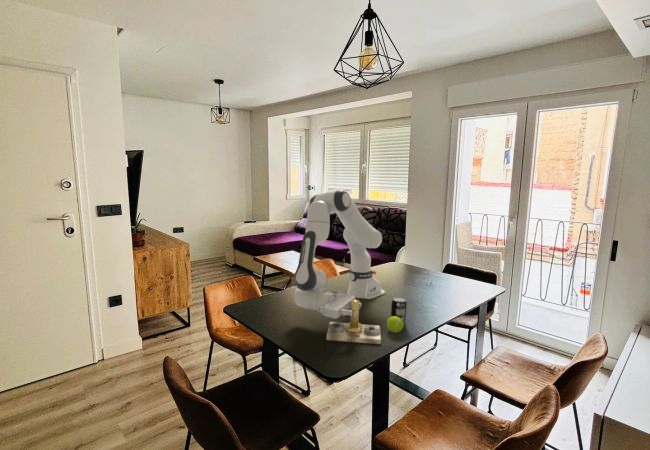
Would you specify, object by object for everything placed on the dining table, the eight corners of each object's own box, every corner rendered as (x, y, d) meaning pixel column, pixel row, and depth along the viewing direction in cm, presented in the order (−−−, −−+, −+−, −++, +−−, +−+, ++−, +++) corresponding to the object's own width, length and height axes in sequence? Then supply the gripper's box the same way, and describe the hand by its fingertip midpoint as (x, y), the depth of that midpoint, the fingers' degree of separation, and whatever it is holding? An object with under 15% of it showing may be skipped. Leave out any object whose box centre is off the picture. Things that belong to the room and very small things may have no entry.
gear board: (379, 329, 150) (379, 321, 150) (380, 344, 138) (381, 335, 137) (329, 326, 153) (329, 318, 152) (326, 339, 140) (326, 331, 139)
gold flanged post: (355, 325, 150) (356, 296, 148) (365, 331, 144) (367, 302, 142) (342, 328, 146) (343, 299, 144) (352, 335, 140) (353, 305, 138)
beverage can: (394, 319, 161) (396, 295, 159) (407, 324, 157) (409, 299, 155) (387, 324, 156) (389, 299, 154) (400, 328, 152) (402, 303, 150)
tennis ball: (383, 331, 149) (384, 316, 148) (392, 327, 154) (393, 312, 153) (396, 337, 144) (397, 321, 143) (405, 332, 149) (406, 317, 148)
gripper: (316, 303, 140) (347, 310, 133) (337, 289, 158) (365, 295, 151) (315, 318, 141) (346, 325, 134) (337, 302, 159) (365, 308, 152)
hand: (356, 309), depth 143 cm, fingers open, 8 cm apart
